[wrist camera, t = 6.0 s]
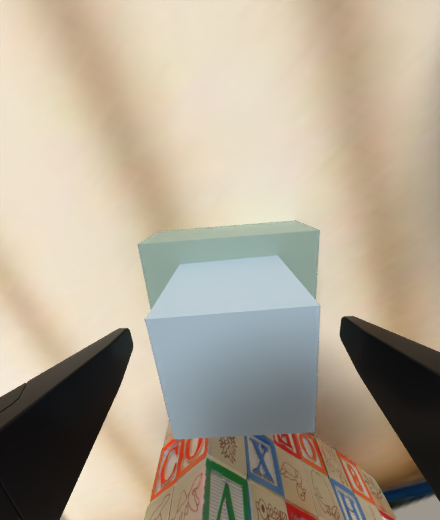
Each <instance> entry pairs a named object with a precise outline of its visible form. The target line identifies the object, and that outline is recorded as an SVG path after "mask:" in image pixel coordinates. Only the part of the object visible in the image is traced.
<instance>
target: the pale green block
mask: <svg viewBox="0 0 440 520" xmlns="http://www.w3.org/2000/svg"><path fill="white" fill-rule="evenodd" d="M319 234H320V230H318V229H315V228H313V227H310V226H308V225H305V224H303V223H300V222H298V221H284V222H271V223H258V224H246V225H233V226H220V227H208V228H195V229H182V230H170V231H159V232H157V233H156V234H154V235H152V236H150V237H149V238H147V239H145V240H144V241H142V242H140V243H139V244H138V249H139V254H140V259H141V263H142V268H143V273H144V278H145V283H146V288H147V293H148V298H149V303H150V307H151V309H152V308H153V306H154V304H155V303H156V301H157V300H158V298H159V297H160V295H161V293H162V292H163V290H164V289H165V287H166V285H167V284H168V282H169V281H170V279H171V278H172V276H173V274H174V273H175V271H176V270H177V268H178V266H179V265H180V264H190V263H200V262H211V261H222V260H232V259H243V258H254V257H264V256H275V255H278V256H279V258H280V259H281V260H282V261H283V262H284V263H285V265H286V266H287V267H288V268H289V269H290V271H291V272H292V273H293V274H294V275H295V276H296V278H297V279H298V280H299V281H300V282H301V283H302V285H303V286H304V287H305V288H306V289H307V290H308V292H309V293H310V294H311V295H312V296H313V298H314V299H316V283H317V267H318V250H319Z"/></svg>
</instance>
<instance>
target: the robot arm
mask: <svg viewBox="0 0 440 520" xmlns="http://www.w3.org/2000/svg"><path fill="white" fill-rule="evenodd" d="M340 338H341V341H342V343H343V345H344V347H345V348H346V350H347V352H348V354H349V356H350V358H351V360H352V362H353V364H354V366H355V368H356V370H357V372H358V374H359V375H360V377H361V379H362V380H363V382H364V384H365V385H366V387H367V388H368V390H369V391H370V393H371V395H372V396H373V398H374V399H375V401H376V402H377V404H378V406H379V407H380V409H381V410H382V412H383V413H384V415H385V416H386V418H387V420H388V421H389V423H390V424H391V426H392V427H393V429H394V431H395V432H396V434H397V435H398V437H399V438H400V440H401V442H402V443H403V445H404V446H405V448H406V449H407V451H408V453H409V454H410V456H411V457H412V459H413V460H414V462H415V464H416V465H417V467H418V468H419V470H420V471H421V473H422V475H423V476H424V478H425V479H426V481H427V482H428V484H429V486H430V487H431V489H432V490H433V492H434V493H435V495H436V497H437V498H438V500H439V501H440V352H438V351H436V350H433V349H431V348H428V347H426V346H424V345H421V344H419V343H417V342H414V341H412V340H409V339H407V338H405V337H402V336H400V335H397V334H395V333H393V332H390V331H388V330H385V329H383V328H381V327H378V326H376V325H373V324H371V323H369V322H366V321H364V320H362V319H359V318H357V317H354V316H344V317H342V319H341V326H340ZM132 350H133V341H132V337H131V333H130V330H129V329H128V328H119V329H117V330H115V331H114V332H112V333H110V334H108V335H107V336H105V337H103V338H102V339H100V340H98V341H96V342H95V343H93V344H91V345H89V346H88V347H86V348H84V349H83V350H81V351H79V352H77V353H76V354H74V355H72V356H71V357H69V358H67V359H65V360H64V361H62V362H60V363H59V364H57V365H55V366H53V367H52V368H50V369H48V370H47V371H45V372H43V373H41V374H40V375H38V376H36V377H34V378H33V379H31V380H29V381H28V382H27V383H24V384H22V385H21V386H19V387H17V388H15V389H14V390H12V391H10V392H9V393H7V394H5V395H3V396H1V397H0V520H60V518H61V515H62V513H63V511H64V509H65V507H66V504H67V502H68V500H69V498H70V496H71V493H72V491H73V489H74V487H75V485H76V482H77V480H78V478H79V476H80V474H81V471H82V469H83V467H84V465H85V463H86V460H87V458H88V456H89V454H90V451H91V449H92V447H93V445H94V443H95V440H96V438H97V436H98V434H99V432H100V429H101V427H102V425H103V423H104V421H105V418H106V416H107V414H108V412H109V410H110V407H111V405H112V403H113V401H114V399H115V396H116V394H117V392H118V390H119V387H120V385H121V382H122V380H123V377H124V374H125V371H126V368H127V365H128V362H129V359H130V356H131V353H132Z"/></svg>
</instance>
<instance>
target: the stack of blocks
mask: <svg viewBox="0 0 440 520" xmlns="http://www.w3.org/2000/svg"><path fill="white" fill-rule="evenodd" d="M144 520H396V517H395V515H394V513H393V511H392V509H391V508H390V506H389V504H388V502H387V500H386V498H385V496H384V495H383V493H382V491H381V489H380V488H379V486H378V484H377V482H376V480H375V479H374V477H372V476H371V475H369V474H368V473H366V472H365V471H363V470H362V469H361V468H359V467H358V466H356V464H355V463H353V462H352V461H350V460H349V459H347V458H346V457H344V456H343V455H341V454H340V453H338V452H337V451H335V450H334V449H333V448H331V447H330V446H328V445H327V444H325V443H324V442H323V441H321V440H320V439H318V438H317V437H313V436H311V435H310V434H309V433H294V434H274V435H254V436H234V437H214V438H194V439H174V437H173V433H172V429H171V425H170V421H169V422H168V427H167V432H166V437H165V440H164V447H163V448H162V451H161V455H160V459H159V464H158V468H157V472H156V476H155V480H154V485H153V490H152V495H151V500H150V504H149V506H148V508H147V510H146V514H145V518H144Z"/></svg>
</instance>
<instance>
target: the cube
mask: <svg viewBox="0 0 440 520" xmlns="http://www.w3.org/2000/svg"><path fill="white" fill-rule="evenodd" d="M145 322H146V326H147V330H148V334H149V338H150V342H151V347H152V351H153V355H154V359H155V363H156V367H157V371H158V375H159V380H160V384H161V388H162V392H163V396H164V400H165V404H166V408H167V413H168V417H169V421H170V425H171V429H172V433H173V437H174V439H194V438H214V437H234V436H254V435H274V434H294V433H314V432H315V421H316V396H317V371H318V346H319V322H320V305H319V303H318V302H317V301H316V300H315V299H314V298H313V296H312V295H311V294H310V293H309V292H308V290H307V289H306V288H305V287H304V286H303V285H302V283H301V282H300V281H299V280H298V279H297V278H296V276H295V275H294V274H293V273H292V272H291V271H290V269H289V268H288V267H287V266H286V265H285V263H284V262H283V261H282V260H281V259H280V258H279V256H278V255H275V256H264V257H254V258H243V259H232V260H222V261H211V262H200V263H190V264H180V265H179V266H178V268H177V270H176V271H175V273H174V274H173V276H172V278H171V279H170V281H169V282H168V284H167V285H166V287H165V289H164V290H163V292H162V293H161V295H160V297H159V298H158V300H157V301H156V303H155V304H154V306H153V308H152V309H151V311H150V312H149V314H148V315H147V317H146V319H145Z"/></svg>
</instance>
